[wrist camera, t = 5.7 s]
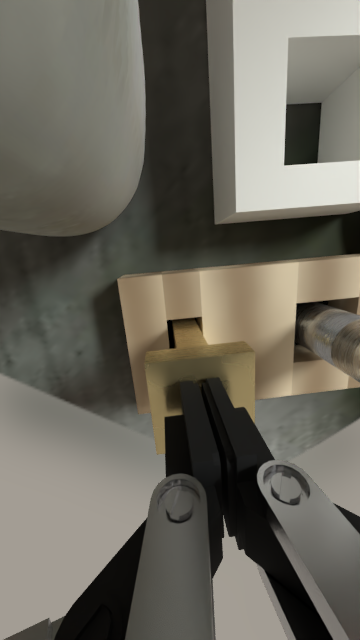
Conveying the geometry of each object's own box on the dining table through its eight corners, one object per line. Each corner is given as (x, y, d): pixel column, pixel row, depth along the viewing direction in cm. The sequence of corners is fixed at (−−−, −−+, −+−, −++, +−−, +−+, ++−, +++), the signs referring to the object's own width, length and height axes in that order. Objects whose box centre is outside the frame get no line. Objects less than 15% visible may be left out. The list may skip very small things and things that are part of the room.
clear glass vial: (322, 297, 19) (521, 349, 9) (319, 337, 20) (494, 427, 10) (281, 301, 19) (433, 359, 8) (279, 341, 20) (414, 439, 9)
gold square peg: (209, 304, 18) (255, 351, 9) (211, 356, 19) (254, 441, 10) (152, 309, 18) (144, 363, 9) (158, 362, 19) (156, 454, 10)
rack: (377, -95, 13) (503, -297, 8) (345, 213, 17) (415, 198, 13) (202, -93, 13) (227, -309, 8) (214, 224, 17) (236, 212, 12)
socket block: (353, 253, 18) (389, 253, 15) (340, 367, 21) (368, 385, 18) (124, 274, 17) (117, 278, 15) (141, 391, 20) (138, 414, 17)
